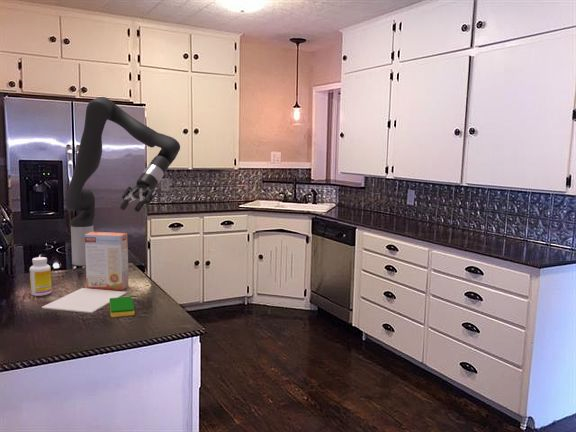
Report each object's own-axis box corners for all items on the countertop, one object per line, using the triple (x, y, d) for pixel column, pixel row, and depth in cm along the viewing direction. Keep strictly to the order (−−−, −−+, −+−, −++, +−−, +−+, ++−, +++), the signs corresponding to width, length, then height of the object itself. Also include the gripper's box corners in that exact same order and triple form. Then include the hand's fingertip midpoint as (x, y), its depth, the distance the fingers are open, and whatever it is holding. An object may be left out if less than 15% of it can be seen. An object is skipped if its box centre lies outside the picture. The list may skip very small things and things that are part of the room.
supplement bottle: (56, 292, 173) (54, 257, 171) (39, 297, 167) (38, 261, 166) (43, 289, 176) (41, 255, 174) (26, 294, 170) (24, 259, 168)
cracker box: (129, 286, 183) (128, 232, 180) (122, 291, 177) (121, 235, 174) (94, 284, 184) (92, 230, 181) (86, 289, 178) (84, 233, 175)
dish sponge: (110, 318, 151) (110, 311, 150) (109, 304, 163) (109, 297, 163) (134, 316, 153) (134, 309, 153) (131, 302, 166) (131, 296, 166)
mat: (82, 289, 178) (82, 287, 178) (127, 293, 175) (126, 291, 175) (41, 308, 157) (41, 307, 157) (91, 313, 154) (91, 311, 154)
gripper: (132, 171, 195) (110, 202, 187) (158, 172, 188) (136, 205, 180) (142, 183, 201) (121, 214, 192) (168, 185, 194) (147, 217, 185)
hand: (128, 209), depth 186 cm, fingers open, 7 cm apart
